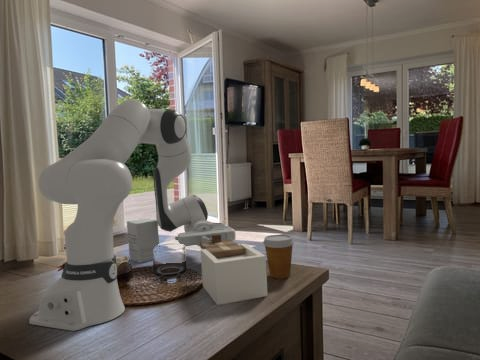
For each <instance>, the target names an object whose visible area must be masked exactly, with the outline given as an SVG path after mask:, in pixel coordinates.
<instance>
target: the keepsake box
mask: <svg viewBox="0 0 480 360" xmlns="http://www.w3.org/2000/svg"><path fill="white" fill-rule="evenodd" d="M239 245H240V246H242V247H243V248H245V254H239V255H232V256H225V257H218V258H216V257H215V256H213V255H212V254H211V253H210V252H209V251H208V250H207V249H201V248H200V260H201V262H200V263H201V279H202V288H204V290H205V291H206V292H207V294H208V295H209V296H210V298H212V300H213V301H214V303H215V304H216V305H217V306H220V305H226V304H231V303H235V302H236V303H237V302H243V301H247V300H253V299H258V298H262V297H268V278H267V255H265V254H263V253H262V252H261V251H259V250H257V249H255V248H253V247H252V246H250V245H249V244H246V243H240V244H239Z"/></svg>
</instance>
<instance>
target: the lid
mask: <svg viewBox="0 0 480 360" xmlns="http://www.w3.org/2000/svg"><path fill="white" fill-rule="evenodd" d="M199 249H200V250H201V249H207V250H208V251H209V252H210V253H211V254H212V255H213V256H215V257H216V258H218V257H225V256H232V255H239V254H245V248H243V247H242V246H240V244H239V243H236V242H235V240H233V241H232V240H231V239H227V240H221V235H220V234H212V241H211V242H203V243H200V246H199Z"/></svg>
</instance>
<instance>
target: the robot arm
mask: <svg viewBox="0 0 480 360" xmlns="http://www.w3.org/2000/svg"><path fill="white" fill-rule="evenodd" d="M186 133H187V122H186V119H185V117H184V116H183V114H182V113H181V112H180V111H178V110H175V109H171V108H168V109H162V108H148V107H147V105H145V104H144V103H143V102H141V101H140V100H138V99H133V98H132V99H131V98H130V99H126V100H124V101H122V102H121V103H120V104H118V105H117V106H115V108H114V109H113V110H111V111H110V113H109V114H108V115H107V116H106V117H105V118H104V120H103V121H102V122H101V124H99V126H98V127H97V128H96V129H95V131H94V132H93V133H92V134H91V135H90V136H89V137H88V138H86V140H84V141H83V142H82V143H81V144H79V145H78V146H77V147H76V148H74V149H73V150H72V151H70V152H69V153H68V154H66V155H65V156H64V157H62V158H61V159H59V160H58V161H56V162H53V163H52V164H50V165H47V166H46V167H45V168H43V170H42V171H41V172H40V174H39V178H38V187H39V191H40V193H41V195H42V196H44V198H45V199H47V200H49V201H51V202H54V203H58V204H62V205H77V210H76V215H75V218H74V221H73V222H72V223H70V224H69V225H68V226H67V228H66V229H65V231H64V241H65V252H66V254H65V255H66V261H64V263H62V264H61V265H59V266H57V272H60V271H61V277H59V279H58V280H56V281H55V282H54V283H53V284H52V285H51V286H49V288H47V289H46V290H45V291H44V292H43V294H41V297H40V299H39V305H38V306H39V310H37V311H35V312H34V313H33V314H32V315H31V316H30V318H29V321H28V323H29V324H30V325H34V326H40V327H46V328H53V329H58V330H65V331H71V332H73V331H80V330H83V329H84V328H88V327H91V326H95V325H99V324H103V323H107V322H109V321H112V320H113V319H116V318H118V317H120V316H121V315H122V314H123V313H124V312H125V310H126V308H125V307H126V306H125V305H124V302H123V300H122V297H121V294H120V289H119V284H118V265H117V256H116V255H115V250H114V248H115V247H114V223H115V218H116V215H117V212H118V209H119V207H120V205H121V204H122V203H123V202H124V200H126V199H127V198H128V196H129V195H130V194H131V190H132V188H133V187H132V186H133V177H132V174H131V171H130V169H129V168H128V166H127V165H126V162H127V161H128V160H129V159H130V158H131V156H132V154H133V153H134V151H135V150H136V148H137V147H138V145H139V144H148V145H155V146H156V152H157V154H158V162H157V165H156V167H155V168H154V169H153V173H152V175H153V178H152V179H153V189H154V198H155V212H156V213H155V214H156V215H155V217H156V218H155V220H157V223H158V228H160V229H161V230H163V231H165V232H172V231H173V232H174V231H175V230H177V229H178V228H181V227H183V230H184V232H180V233H177V236H175V237H174V240H175V241H177V243H178V242H179V243H180V244H184V245H185V247H191V246H197V247H200V243H203V242H211V241H212V234H220V235H221V240H227V239H231V240H232V241H236V230H235V229H234V228H232V227H231V226H228V225H226V223H223V222H209V221H208V218H209V213H208V210H207V209H208V208H207V206H206V204H205V202H204V201H203V199H202V198H201V197H199V196H197V195H195V194H191V195H188V196H185V197H183V198H180V199H178V200H175V201H173V202H170V203H169V199H168V188H169V186H170V184H171V183H172V182H173V181H174V180H175V179H176V178H177V177H179V176H180V175H181V174H183V173H184V172H185V171H186V170H187V168H189V166H190V164H191V162H192V161H191V160H192V155H191V154H192V153H191V149H190V145H189V140H188V138H187V135H186Z"/></svg>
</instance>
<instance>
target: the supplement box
mask: <svg viewBox="0 0 480 360" xmlns="http://www.w3.org/2000/svg"><path fill="white" fill-rule="evenodd" d="M126 227H127V228H126V229H127V241H128V242H127V243H128V254H129V255H128V256H129V260H132V261H134V262H137V263H139V264H140V263H144V262H149V261H152V260H154V259H153V249H154V247H155V246H156V245H158V244H159V245H160V235H159V225H158V223H157V219H152V218H150V217H145V218H139V219H134V220H127V221H126Z"/></svg>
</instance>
